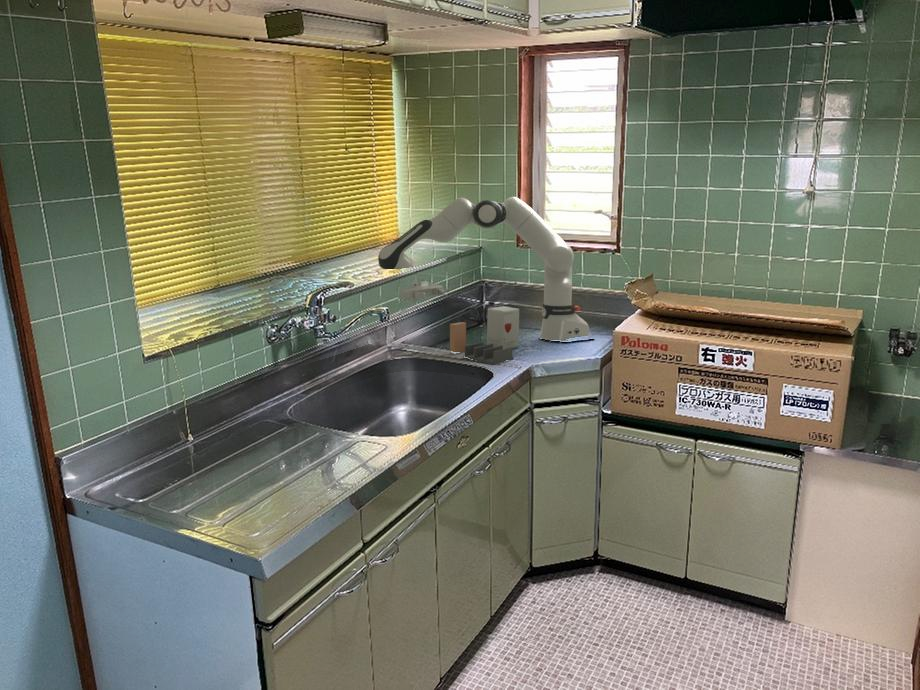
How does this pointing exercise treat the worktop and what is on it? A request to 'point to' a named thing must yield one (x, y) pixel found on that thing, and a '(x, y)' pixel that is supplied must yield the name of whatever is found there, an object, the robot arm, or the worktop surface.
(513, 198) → the robot arm
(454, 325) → the tile
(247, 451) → the worktop surface
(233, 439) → the worktop surface
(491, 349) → the dish rack
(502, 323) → the supplement box
